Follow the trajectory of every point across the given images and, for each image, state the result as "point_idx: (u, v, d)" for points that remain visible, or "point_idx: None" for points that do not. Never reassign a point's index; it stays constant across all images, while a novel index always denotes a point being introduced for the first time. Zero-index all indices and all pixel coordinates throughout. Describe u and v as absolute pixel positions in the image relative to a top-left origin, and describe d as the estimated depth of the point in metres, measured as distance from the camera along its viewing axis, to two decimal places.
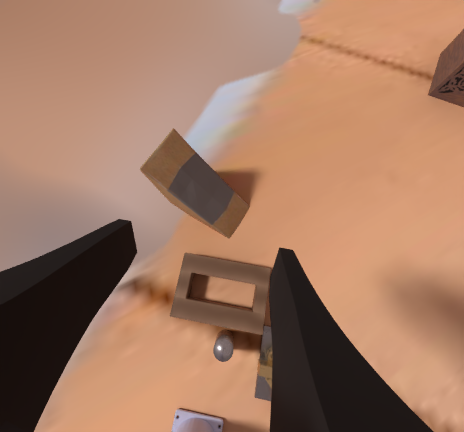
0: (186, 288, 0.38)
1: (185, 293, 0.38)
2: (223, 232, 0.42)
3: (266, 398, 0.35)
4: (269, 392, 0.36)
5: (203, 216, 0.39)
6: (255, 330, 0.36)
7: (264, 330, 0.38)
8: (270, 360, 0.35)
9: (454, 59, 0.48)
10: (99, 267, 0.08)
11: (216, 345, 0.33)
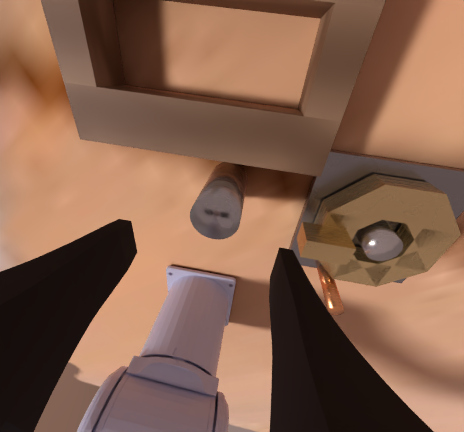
0: (84, 50, 0.11)
1: (89, 69, 0.12)
2: None
3: (306, 264, 0.21)
4: None
5: None
6: (303, 166, 0.13)
7: None
8: (329, 224, 0.16)
9: None
10: (99, 267, 0.08)
11: (195, 209, 0.12)
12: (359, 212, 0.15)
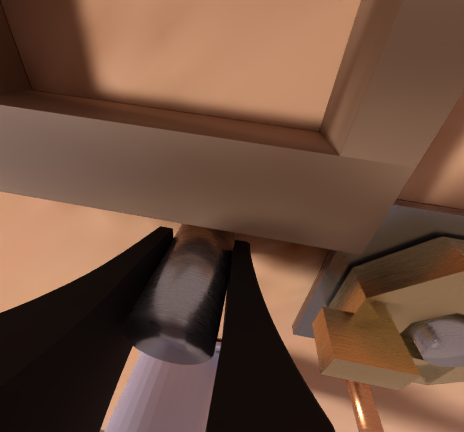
0: None
1: None
2: None
3: None
4: None
5: None
6: (331, 238, 0.07)
7: None
8: (366, 312, 0.10)
9: None
10: (148, 277, 0.08)
11: (131, 327, 0.07)
12: (419, 301, 0.09)
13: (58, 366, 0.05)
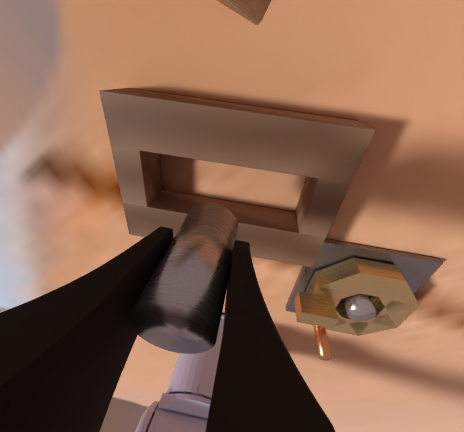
0: (141, 187, 0.16)
1: (143, 197, 0.16)
2: None
3: None
4: None
5: None
6: (299, 260, 0.18)
7: None
8: (319, 293, 0.20)
9: None
10: (148, 277, 0.08)
11: (137, 317, 0.07)
12: (342, 288, 0.19)
13: (58, 366, 0.05)
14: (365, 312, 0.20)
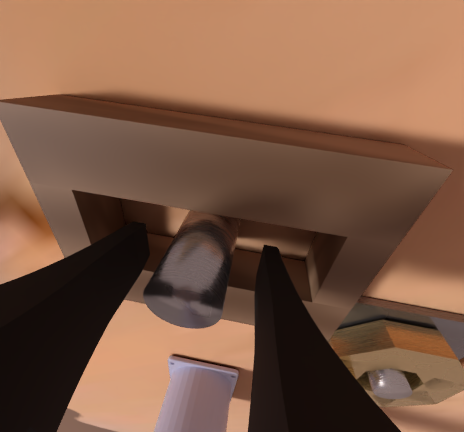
0: (84, 237, 0.11)
1: None
2: None
3: None
4: None
5: None
6: None
7: None
8: None
9: None
10: (116, 271, 0.08)
11: (150, 292, 0.08)
12: (367, 361, 0.14)
13: (2, 353, 0.05)
14: (397, 391, 0.15)
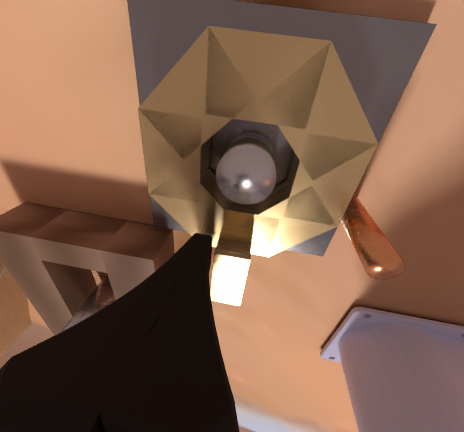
0: None
1: None
2: None
3: (330, 232, 0.12)
4: None
5: None
6: (147, 273, 0.13)
7: (165, 225, 0.14)
8: (218, 241, 0.11)
9: None
10: None
11: None
12: (193, 212, 0.10)
13: None
14: (239, 171, 0.08)
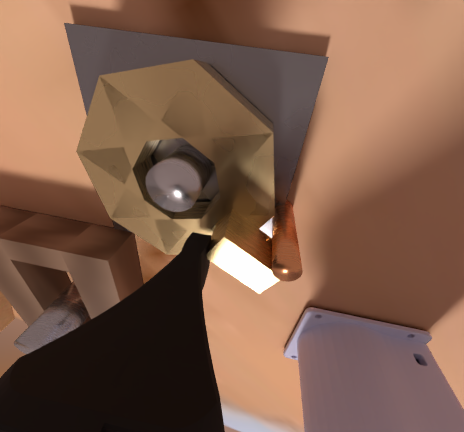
0: None
1: None
2: None
3: (271, 236, 0.13)
4: None
5: None
6: (105, 272, 0.14)
7: (124, 228, 0.15)
8: None
9: None
10: None
11: None
12: None
13: None
14: (165, 183, 0.09)
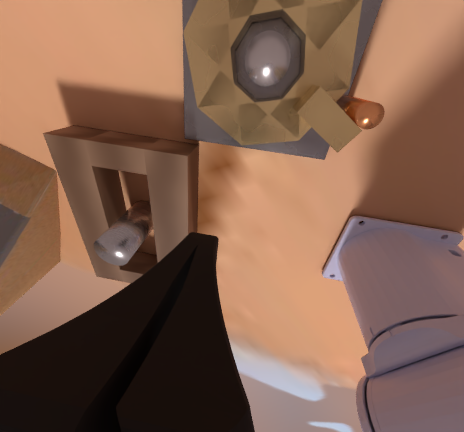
0: None
1: None
2: (42, 187, 0.21)
3: None
4: None
5: (6, 241, 0.20)
6: (181, 171, 0.16)
7: (194, 137, 0.17)
8: (305, 124, 0.13)
9: None
10: (185, 284, 0.08)
11: (109, 261, 0.18)
12: (271, 124, 0.14)
13: (124, 381, 0.04)
14: (262, 53, 0.11)
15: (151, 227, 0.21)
